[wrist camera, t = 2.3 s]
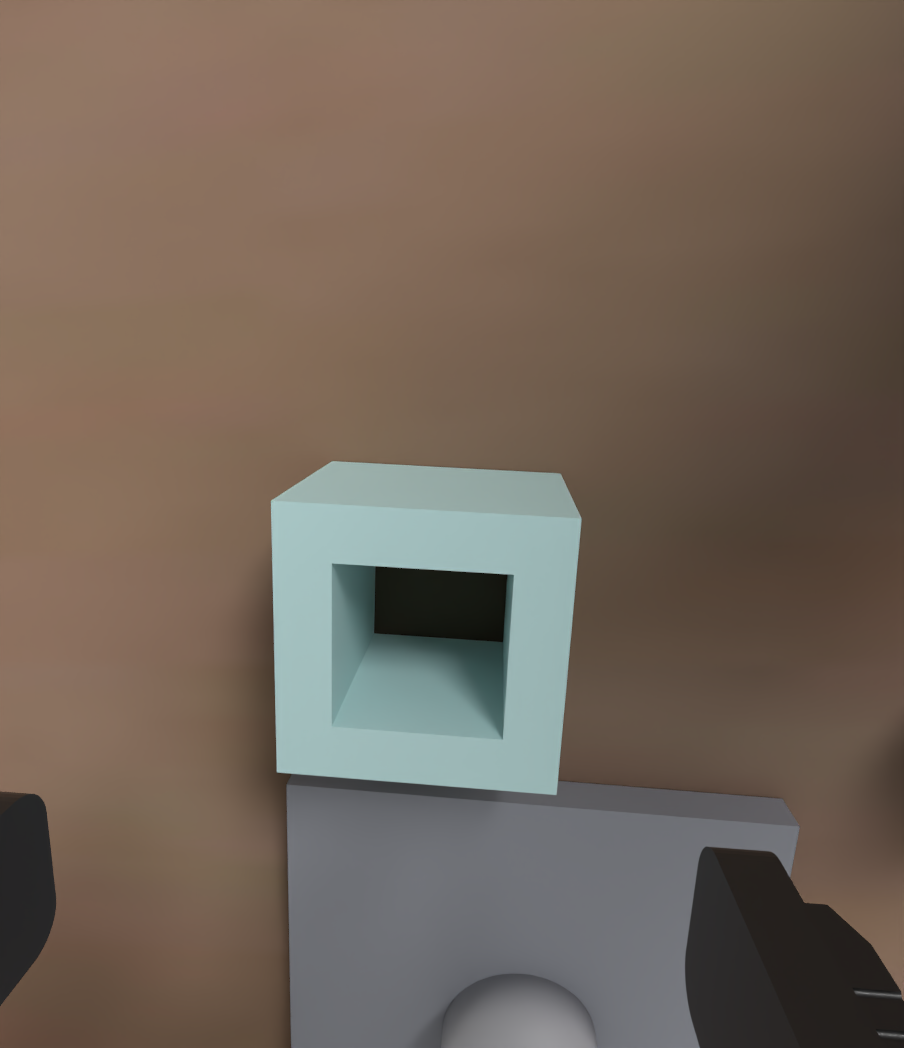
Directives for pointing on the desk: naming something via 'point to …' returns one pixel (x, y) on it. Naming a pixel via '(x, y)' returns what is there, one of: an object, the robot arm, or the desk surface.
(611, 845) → the post block
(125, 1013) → the desk surface
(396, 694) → the collar
